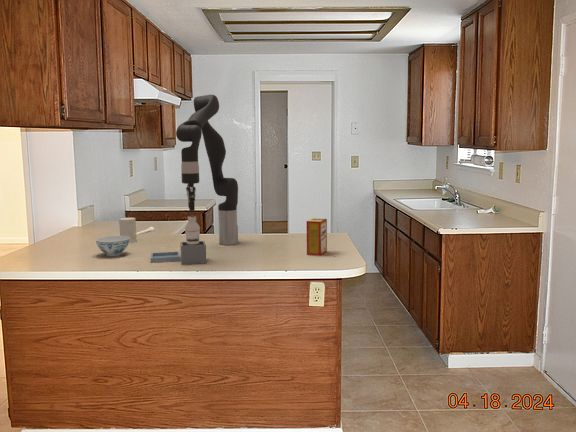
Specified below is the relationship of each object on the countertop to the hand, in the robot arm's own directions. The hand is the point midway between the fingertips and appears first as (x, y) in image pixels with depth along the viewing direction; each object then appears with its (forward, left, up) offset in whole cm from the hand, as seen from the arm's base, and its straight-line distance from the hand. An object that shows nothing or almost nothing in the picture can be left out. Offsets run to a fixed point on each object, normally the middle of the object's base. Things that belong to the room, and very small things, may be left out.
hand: (191, 209), depth 254 cm
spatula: (+25, -76, -24) cm, 84 cm away
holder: (0, 0, -23) cm, 23 cm away
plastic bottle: (0, 0, -23) cm, 23 cm away
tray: (+12, -8, -23) cm, 27 cm away
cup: (+30, -57, -23) cm, 69 cm away
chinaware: (+35, -24, -23) cm, 49 cm away
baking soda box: (-57, -2, -23) cm, 61 cm away
